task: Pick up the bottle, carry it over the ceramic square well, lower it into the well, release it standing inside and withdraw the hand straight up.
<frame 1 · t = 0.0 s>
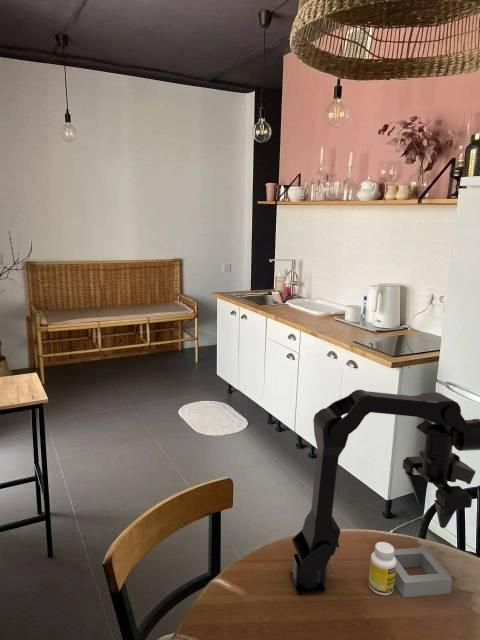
hand: (431, 515, 106), 15 cm above the table, fingers open, 9 cm apart
supplement bottle: (381, 588, 104), on the table
well: (414, 577, 107), on the table
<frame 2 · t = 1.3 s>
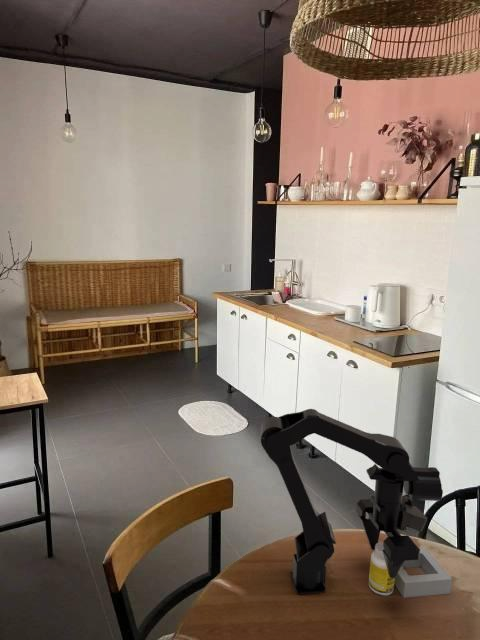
hand: (382, 562, 103), 6 cm above the table, fingers open, 9 cm apart
nothing on the table moved.
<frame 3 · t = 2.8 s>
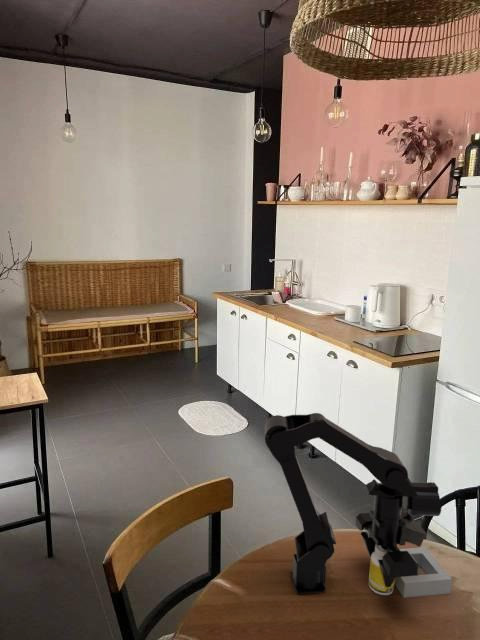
hand: (381, 577, 103), 3 cm above the table, fingers closed on supplement bottle, 5 cm apart
supplement bottle: (381, 588, 104), on the table, touching gripper
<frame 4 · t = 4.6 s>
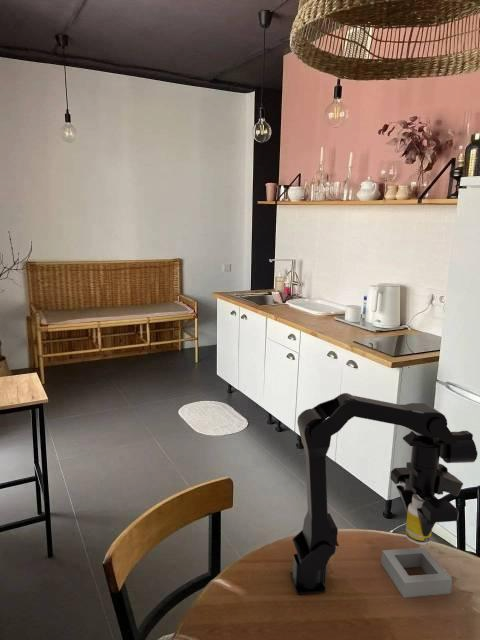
hand: (418, 527, 105), 13 cm above the table, fingers closed on supplement bottle, 5 cm apart
supplement bottle: (418, 538, 106), point 10 cm above the table, touching gripper
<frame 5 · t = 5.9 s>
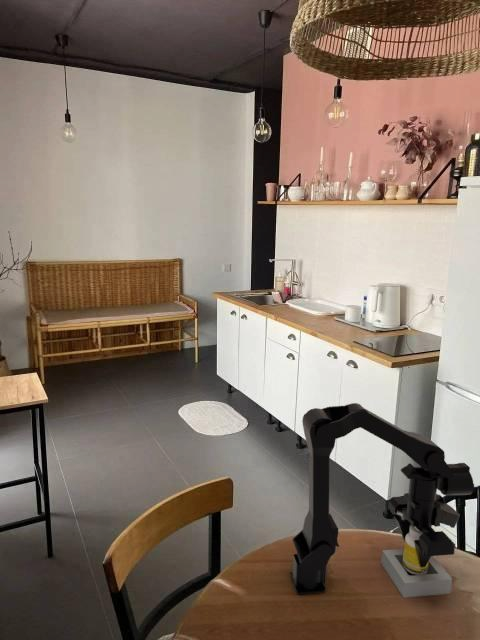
hand: (415, 558, 106), 5 cm above the table, fingers closed on supplement bottle, 5 cm apart
supplement bottle: (414, 568, 107), point 2 cm above the table, touching gripper
when the fingers open (4 cm above the table, at t = 6.9 s): supplement bottle drops 2 cm, resting in well.
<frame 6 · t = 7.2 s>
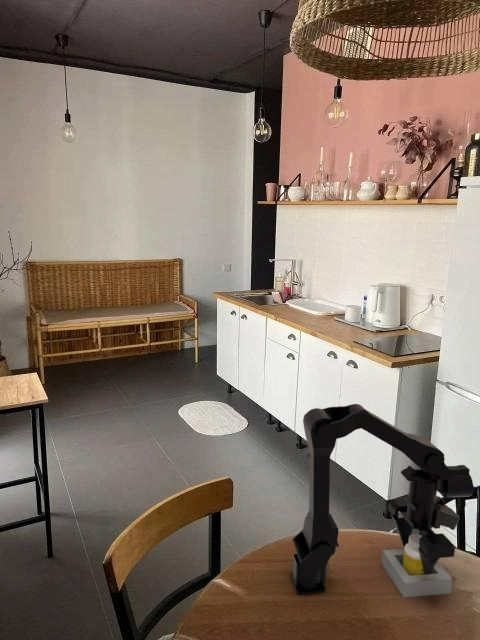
hand: (416, 560, 106), 4 cm above the table, fingers open, 9 cm apart
supplement bottle: (414, 578, 107), resting in well
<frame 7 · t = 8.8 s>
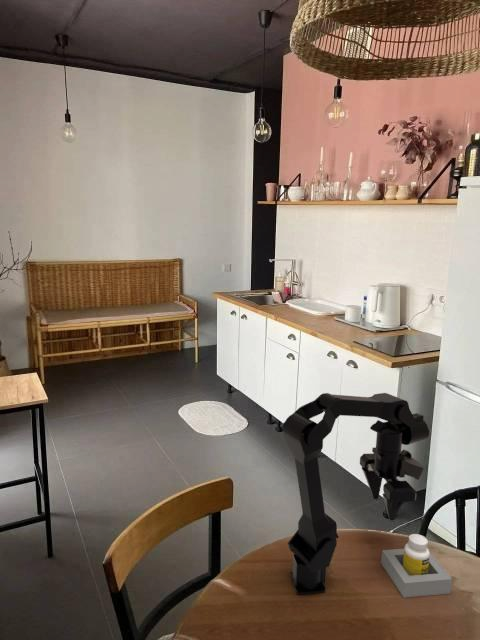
hand: (383, 508, 113), 12 cm above the table, fingers open, 9 cm apart
nothing on the table moved.
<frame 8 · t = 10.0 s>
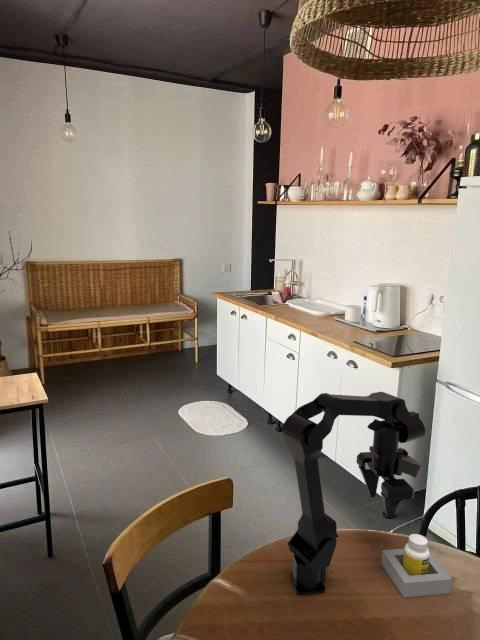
hand: (380, 507, 113), 13 cm above the table, fingers open, 9 cm apart
nothing on the table moved.
at the end: supplement bottle 0.1 cm off-centre on the well, point 0.0 cm above the well's base; supplement bottle touching table; supplement bottle tilted 0° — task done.
